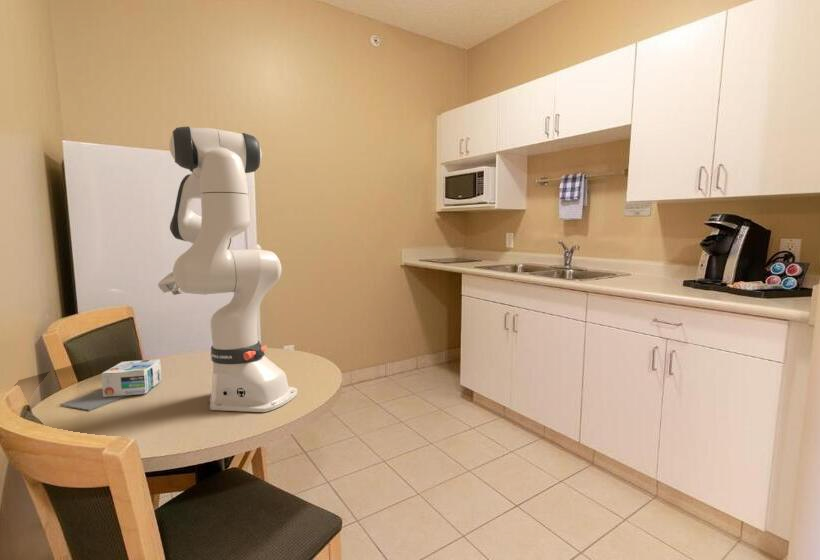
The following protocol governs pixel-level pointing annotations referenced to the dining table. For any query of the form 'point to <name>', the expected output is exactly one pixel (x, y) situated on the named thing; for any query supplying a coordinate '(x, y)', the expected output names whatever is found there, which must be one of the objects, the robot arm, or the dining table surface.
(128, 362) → the light bulb box
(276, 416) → the dining table surface
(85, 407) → the mat
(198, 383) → the dining table surface
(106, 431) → the dining table surface
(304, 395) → the dining table surface
